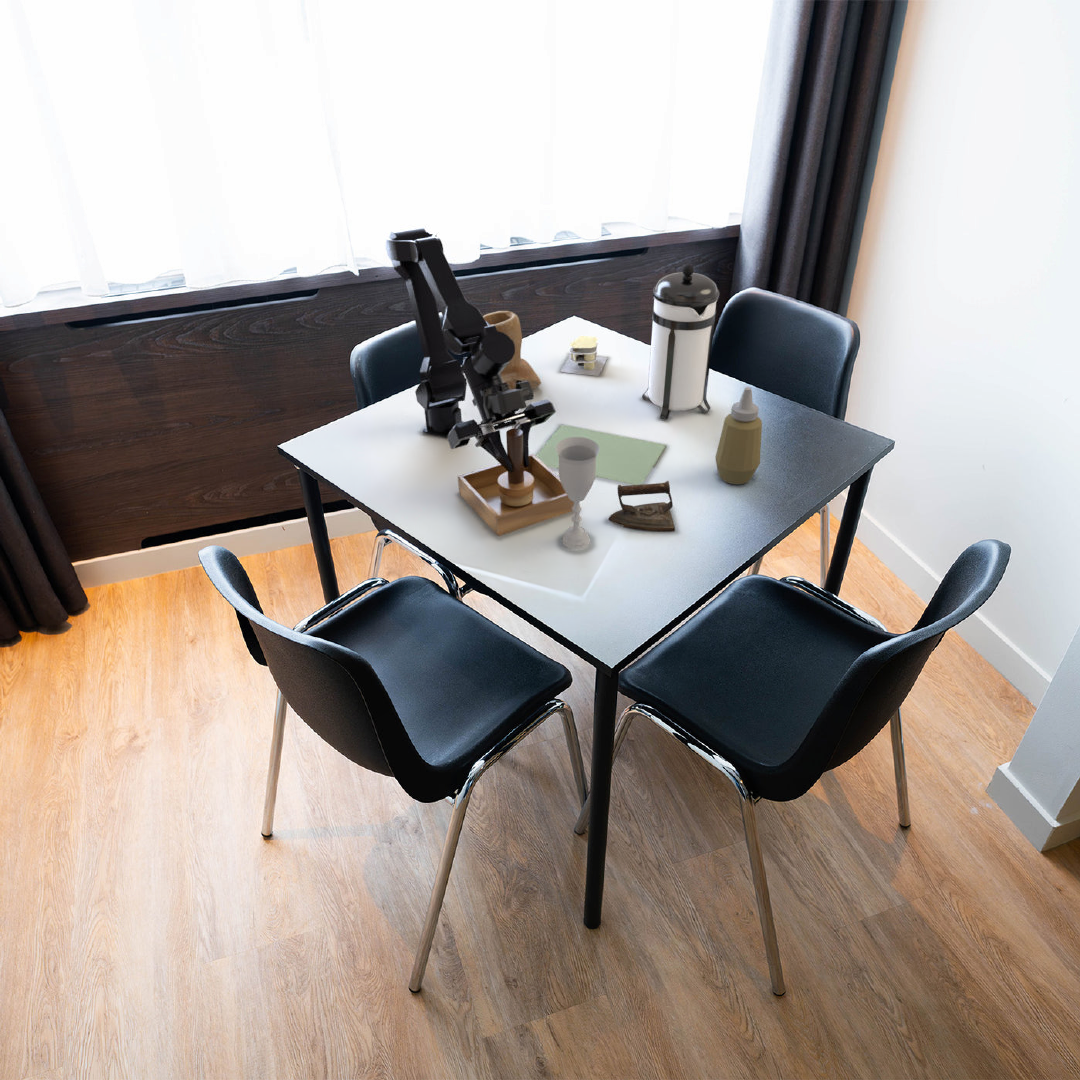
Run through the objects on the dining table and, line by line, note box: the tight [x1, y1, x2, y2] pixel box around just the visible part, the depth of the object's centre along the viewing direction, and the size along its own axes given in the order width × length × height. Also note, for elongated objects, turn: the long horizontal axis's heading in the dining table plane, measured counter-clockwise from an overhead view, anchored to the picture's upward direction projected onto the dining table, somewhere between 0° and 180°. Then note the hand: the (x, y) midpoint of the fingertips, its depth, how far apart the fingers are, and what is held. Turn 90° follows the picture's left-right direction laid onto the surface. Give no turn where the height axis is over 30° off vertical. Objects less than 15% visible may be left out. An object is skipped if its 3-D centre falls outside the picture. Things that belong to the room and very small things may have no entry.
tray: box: [457, 452, 574, 537], centre depth 149 cm, size 15×15×4 cm
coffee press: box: [641, 263, 720, 421], centre depth 171 cm, size 17×16×30 cm
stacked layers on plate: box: [560, 335, 608, 377], centre depth 194 cm, size 10×9×6 cm
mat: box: [535, 424, 667, 485], centre depth 163 cm, size 22×16×1 cm
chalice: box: [556, 437, 599, 550], centre depth 135 cm, size 7×7×18 cm
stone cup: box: [482, 310, 542, 390], centre depth 185 cm, size 15×12×15 cm
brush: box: [498, 428, 534, 506], centre depth 146 cm, size 6×6×13 cm
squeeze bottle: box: [714, 386, 763, 485], centre depth 151 cm, size 8×8×18 cm
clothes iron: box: [608, 480, 676, 533], centre depth 143 cm, size 7×11×10 cm, turn 92°
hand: (519, 469), depth 145 cm, fingers closed on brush, 3 cm apart
